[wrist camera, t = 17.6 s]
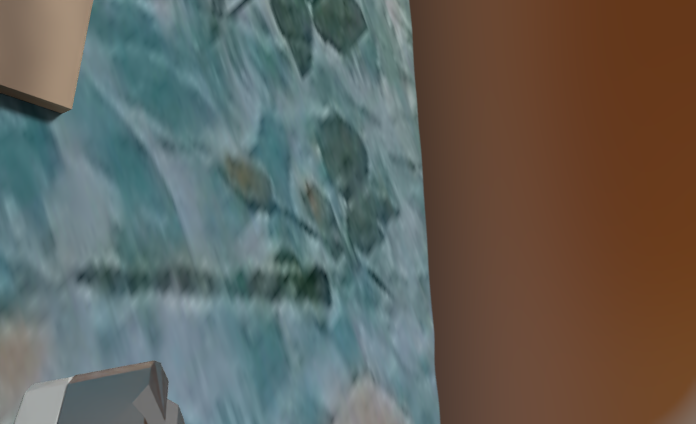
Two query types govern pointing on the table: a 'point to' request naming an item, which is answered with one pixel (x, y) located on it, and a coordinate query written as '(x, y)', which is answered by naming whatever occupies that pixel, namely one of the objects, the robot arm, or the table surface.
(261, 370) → the table surface
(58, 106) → the brown flat sheet
